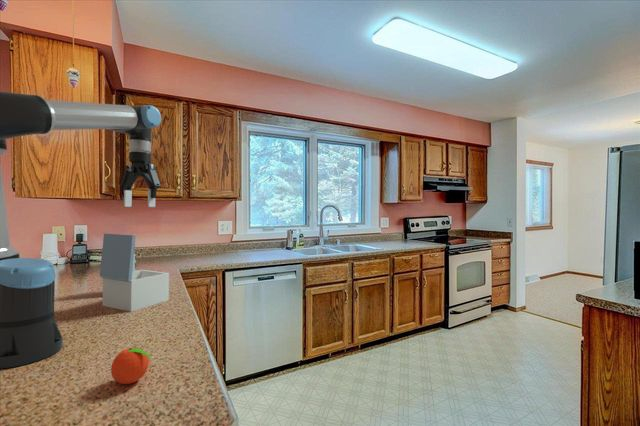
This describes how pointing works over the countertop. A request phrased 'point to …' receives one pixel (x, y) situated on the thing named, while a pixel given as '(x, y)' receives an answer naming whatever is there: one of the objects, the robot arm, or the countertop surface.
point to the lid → (117, 257)
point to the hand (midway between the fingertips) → (139, 206)
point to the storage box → (136, 290)
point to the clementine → (130, 365)
